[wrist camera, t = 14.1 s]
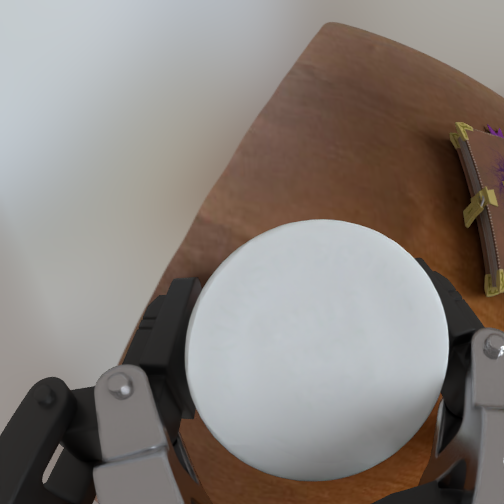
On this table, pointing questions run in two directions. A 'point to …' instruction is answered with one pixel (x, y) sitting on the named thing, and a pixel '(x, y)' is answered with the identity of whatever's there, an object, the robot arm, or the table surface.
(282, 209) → the table surface
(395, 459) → the table surface
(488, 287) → the book
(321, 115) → the table surface
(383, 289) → the pill bottle
